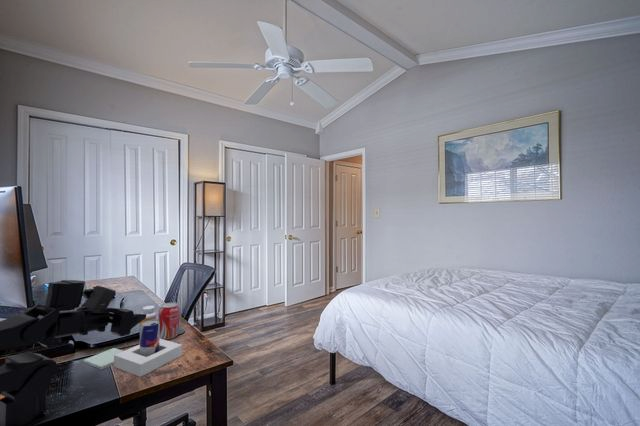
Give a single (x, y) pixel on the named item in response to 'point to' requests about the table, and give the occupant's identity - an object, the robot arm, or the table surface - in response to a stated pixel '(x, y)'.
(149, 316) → the supplement bottle
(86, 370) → the table surface
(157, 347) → the energy drink
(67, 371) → the table surface
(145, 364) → the well board
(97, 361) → the pad
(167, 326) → the soda can
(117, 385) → the table surface
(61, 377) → the table surface
